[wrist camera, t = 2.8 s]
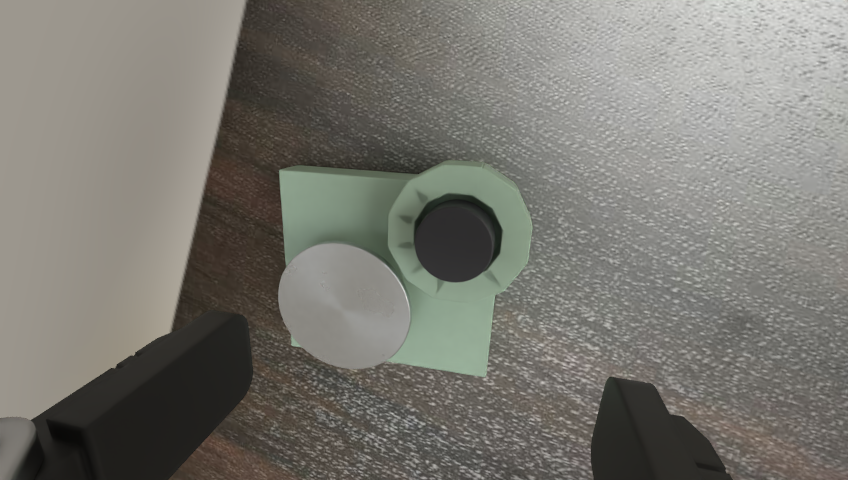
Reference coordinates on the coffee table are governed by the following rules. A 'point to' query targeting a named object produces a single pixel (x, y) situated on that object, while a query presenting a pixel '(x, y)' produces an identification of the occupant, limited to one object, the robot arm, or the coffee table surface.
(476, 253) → the button
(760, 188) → the coffee table surface
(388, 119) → the coffee table surface
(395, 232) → the scale
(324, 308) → the brushed metal disc
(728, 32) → the coffee table surface
